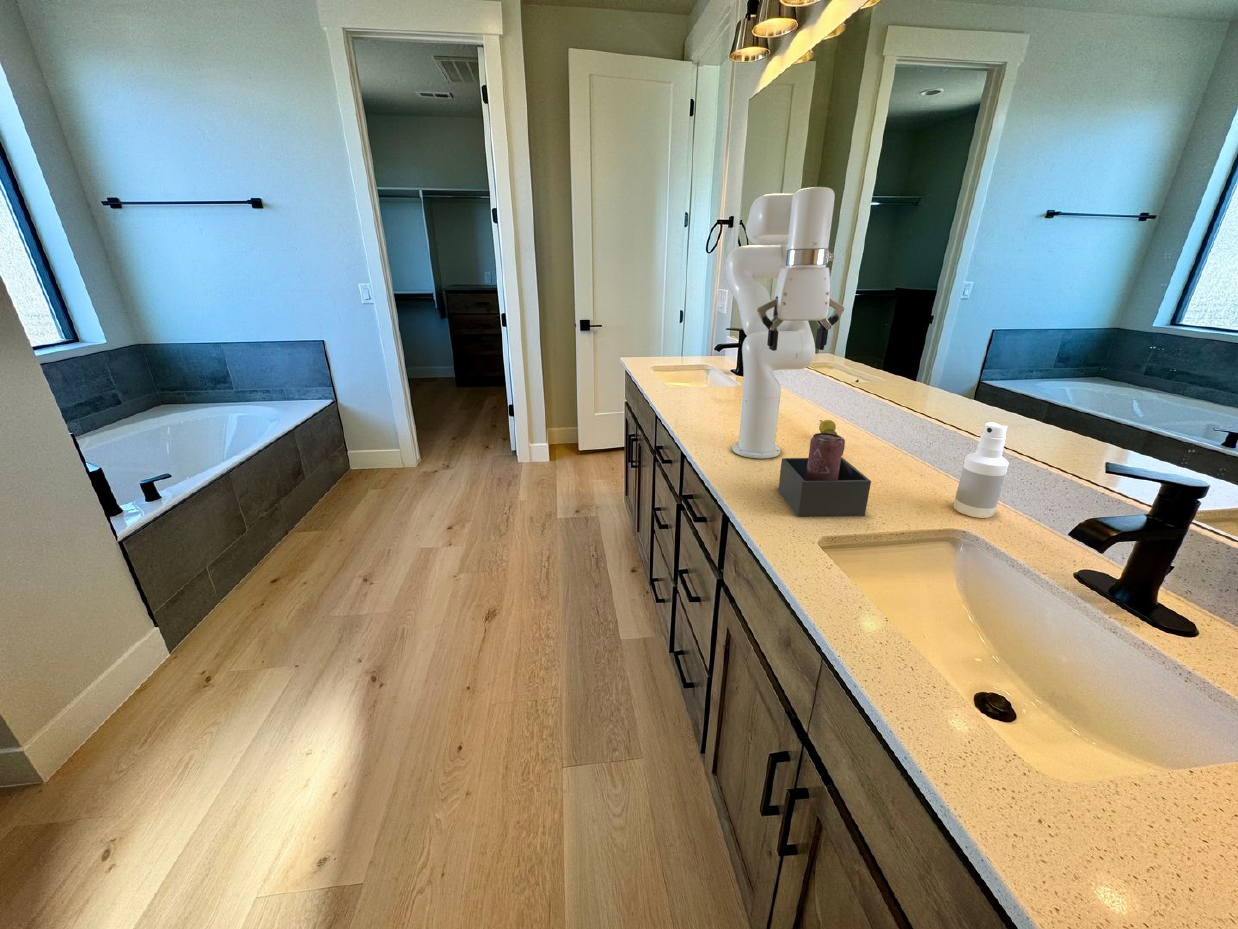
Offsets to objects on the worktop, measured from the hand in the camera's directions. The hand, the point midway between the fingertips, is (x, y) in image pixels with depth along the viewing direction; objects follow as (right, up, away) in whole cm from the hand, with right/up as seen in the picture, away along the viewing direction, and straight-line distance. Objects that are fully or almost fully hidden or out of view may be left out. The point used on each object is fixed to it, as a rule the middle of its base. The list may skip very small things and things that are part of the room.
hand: (796, 349), depth 102 cm
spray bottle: (+34, -33, -3) cm, 48 cm away
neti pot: (+22, -18, +36) cm, 46 cm away
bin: (+5, -32, +2) cm, 32 cm away
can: (+5, -32, +1) cm, 32 cm away
